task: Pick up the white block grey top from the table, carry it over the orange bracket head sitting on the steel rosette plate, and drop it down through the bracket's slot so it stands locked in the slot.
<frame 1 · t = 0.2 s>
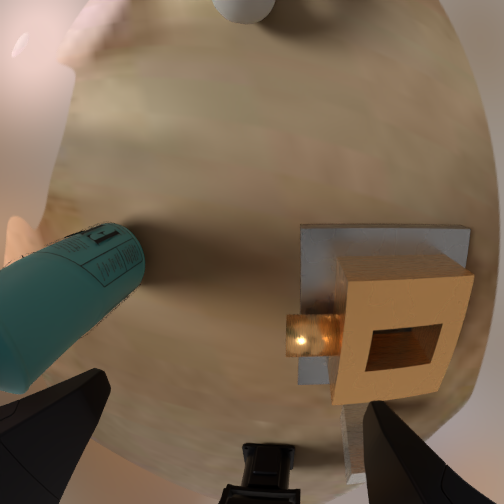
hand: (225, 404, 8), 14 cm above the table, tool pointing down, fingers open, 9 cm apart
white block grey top: (359, 409, 25), on the table
donut: (257, 0, 15), on the table
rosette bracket: (382, 307, 21), on the table
beverage bottle: (125, 253, 23), on the table
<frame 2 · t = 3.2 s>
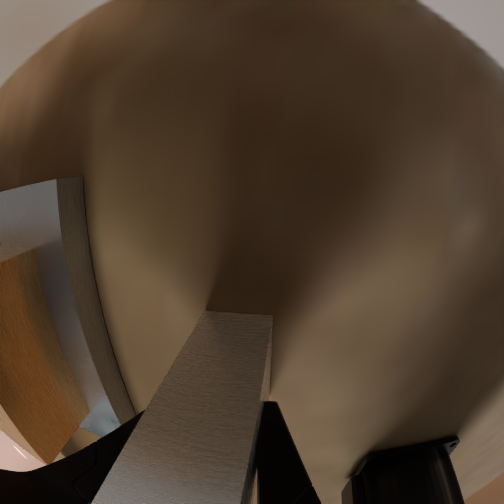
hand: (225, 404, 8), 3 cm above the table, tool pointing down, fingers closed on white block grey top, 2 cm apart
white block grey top: (239, 357, 10), on the table, touching gripper
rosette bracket: (24, 312, 12), on the table
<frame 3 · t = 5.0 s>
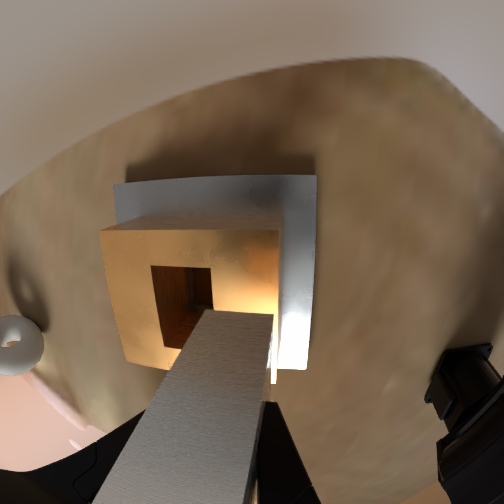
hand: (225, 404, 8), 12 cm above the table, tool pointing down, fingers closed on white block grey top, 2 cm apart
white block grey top: (240, 357, 10), point 10 cm above the table, touching gripper
donut: (35, 325, 27), on the table
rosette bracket: (214, 274, 20), on the table
when the fingers open (7 cm above the table, at t = 6.8 s): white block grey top drops 5 cm, resting in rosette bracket.
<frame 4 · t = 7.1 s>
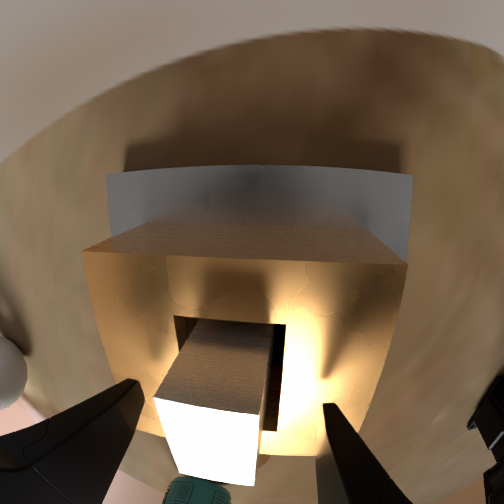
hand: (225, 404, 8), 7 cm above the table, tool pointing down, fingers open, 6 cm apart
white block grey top: (253, 304, 14), resting in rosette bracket
donut: (17, 346, 20), on the table
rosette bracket: (253, 305, 14), on the table
beverage bottle: (206, 477, 21), on the table
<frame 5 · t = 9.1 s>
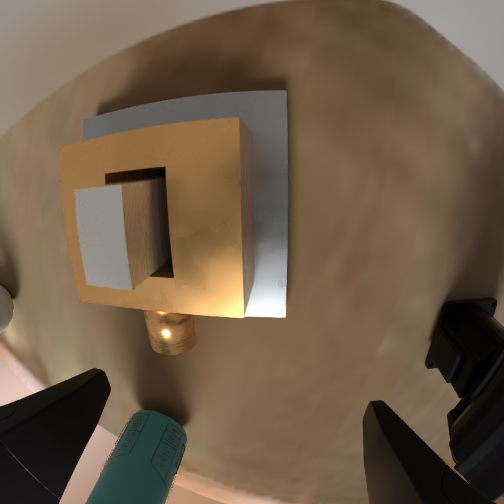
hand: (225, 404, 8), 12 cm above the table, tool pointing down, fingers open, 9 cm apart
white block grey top: (180, 205, 18), resting in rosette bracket
donut: (7, 292, 24), on the table
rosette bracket: (180, 206, 18), on the table
beverage bottle: (165, 417, 25), on the table
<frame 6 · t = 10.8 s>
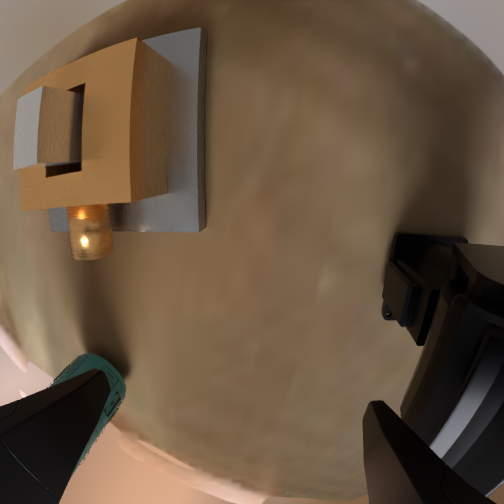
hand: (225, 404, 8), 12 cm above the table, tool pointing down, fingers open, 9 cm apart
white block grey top: (117, 135, 18), resting in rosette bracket
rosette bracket: (117, 136, 18), on the table
beverage bottle: (110, 367, 25), on the table
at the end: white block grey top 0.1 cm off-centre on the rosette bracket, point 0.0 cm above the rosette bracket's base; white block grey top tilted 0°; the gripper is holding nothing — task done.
